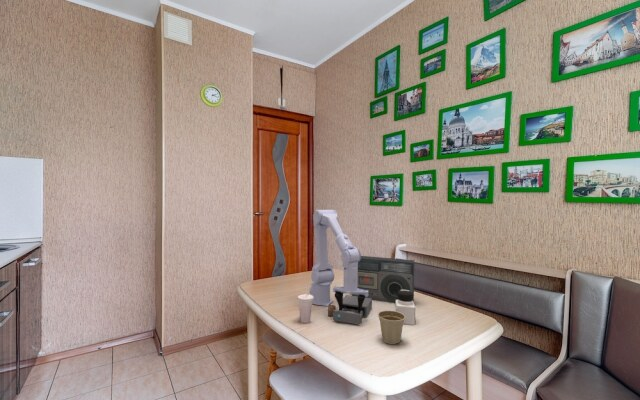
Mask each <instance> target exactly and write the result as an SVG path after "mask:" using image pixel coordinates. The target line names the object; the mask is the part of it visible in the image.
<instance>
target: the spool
mask: <svg viewBox="0 0 640 400" xmlns="http://www.w3.org/2000/svg"><path fill="white" fill-rule="evenodd" d="M333 310H337V308H336V305H335V304H329V305H328V306H327V317H329V318H333Z"/></svg>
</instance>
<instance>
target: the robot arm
mask: <svg viewBox="0 0 640 400" xmlns="http://www.w3.org/2000/svg"><path fill="white" fill-rule="evenodd" d="M338 216H339V215H338V213H337V210H335V209H316V210H315V211H314V213H313V214H312V217H313V227H314V228H315V229H314V231H315V244H316V245H315V247H316V248H315V249H316V264H314V265H313V266H312V268H311V280H312V281H311V284H310V286H309V295H312V296H314V300H313V303H312V305H317V306H324V307H328V305H331V303H333V301H334V299H331V284H332V283H333V281H334V279H335V272H334V268H333V266H332V264H331V263H329V256H328V237H327V236H328V235H327V230H328V229H329V228H330V231H331V232H332V233H333V235H334V236H335V237H336V238H335V243H336V245H337V248H338V250H339V251H340V253H341V255H340V259H341V262H342V267H343V283H342V284H343V286H337V285H335V286H333V287H332V293H334V297H335V300H336V302H337V305H338V310H340V311H342V310H343V298H344V294H346V295H352V294H354V295H359V296H358V314H360V313H361V308H362V304H363V302H364V299H365V297H368V291H367V290H363V289H359V288H357V285H358V262H359V261H360V260H361V256H362V253H361V250H360V249H359V248H357V247H356V246H354V245H353V243H352V241H351V240H350V237H349V236H348V235H347V234H345V233H343V230H342V228H341V226H340V223H339V221H338V218H339V217H338Z"/></svg>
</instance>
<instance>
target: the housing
mask: <svg viewBox="0 0 640 400" xmlns="http://www.w3.org/2000/svg"><path fill="white" fill-rule="evenodd" d="M344 306H345V307H346V308H347V309H353V310H358V297H357V296H352V295H351V294H346V295H344V296H343V307H344ZM362 309H364V314H363V316H362V317H361V318H364V319H367V318H368V316H369V314H370V312H371V311H372V309H373V300H372V298H365V299H364V302H363V304H362V308H361V310H362ZM338 310H339V309H338ZM339 311H340V310H339Z"/></svg>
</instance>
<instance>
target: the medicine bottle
mask: <svg viewBox="0 0 640 400" xmlns="http://www.w3.org/2000/svg"><path fill="white" fill-rule="evenodd" d="M414 302H415V301H414ZM414 302H413V293H412V292H411V291H408V290H400V291H398V299H397V300H396V303H395V310H394V311H397V312H400V313H402V314H404V315H405V320H404V323H403V325H409V326H410V325H411V326H415V325H416V305H415V303H414Z"/></svg>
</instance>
